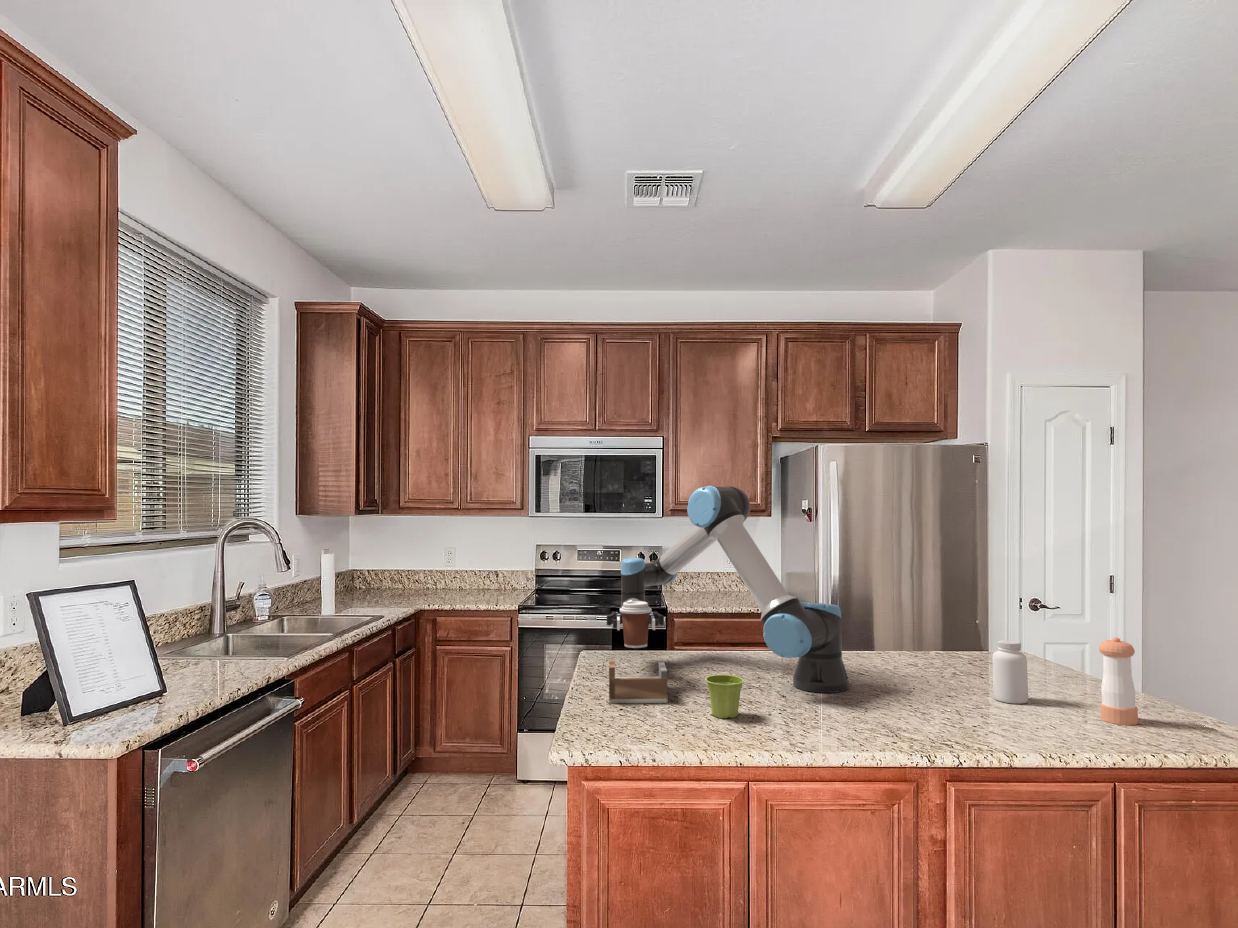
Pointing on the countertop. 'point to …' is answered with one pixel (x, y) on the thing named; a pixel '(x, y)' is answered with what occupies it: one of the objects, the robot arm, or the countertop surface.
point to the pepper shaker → (1118, 683)
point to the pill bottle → (1010, 673)
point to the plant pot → (724, 694)
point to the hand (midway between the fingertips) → (636, 625)
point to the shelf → (637, 687)
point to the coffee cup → (635, 623)
